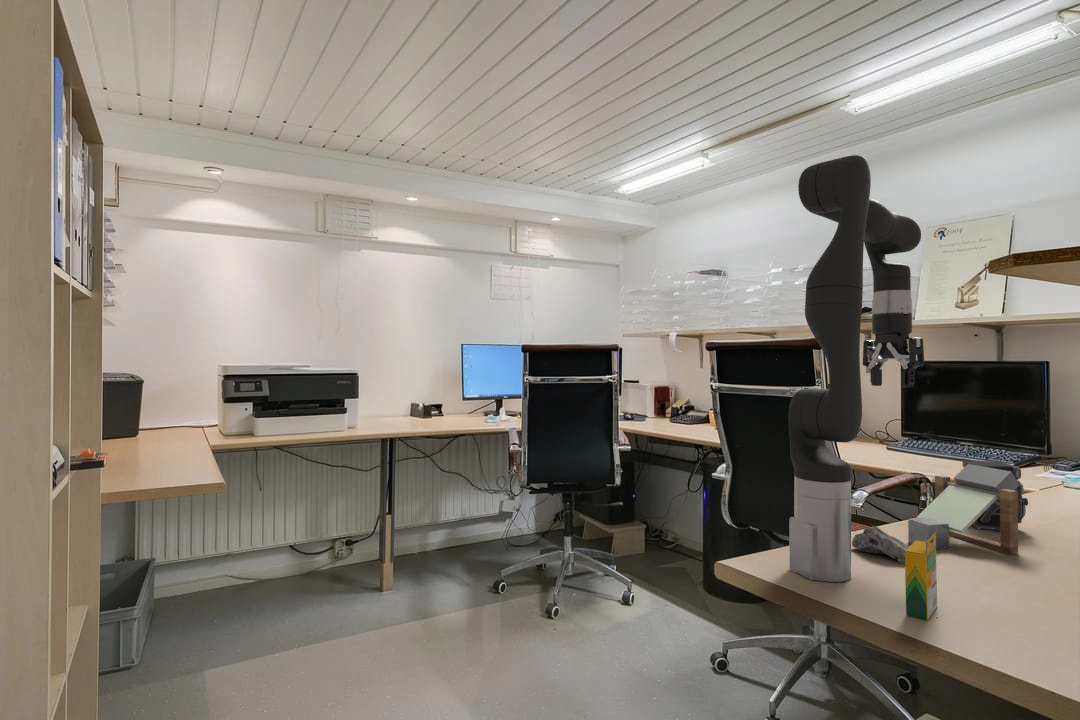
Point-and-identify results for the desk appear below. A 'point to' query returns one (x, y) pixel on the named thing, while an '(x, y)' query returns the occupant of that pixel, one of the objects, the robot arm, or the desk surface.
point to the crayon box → (921, 578)
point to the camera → (992, 513)
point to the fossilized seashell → (880, 544)
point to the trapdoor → (969, 496)
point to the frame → (1006, 520)
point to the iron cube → (928, 531)
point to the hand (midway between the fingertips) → (891, 386)
